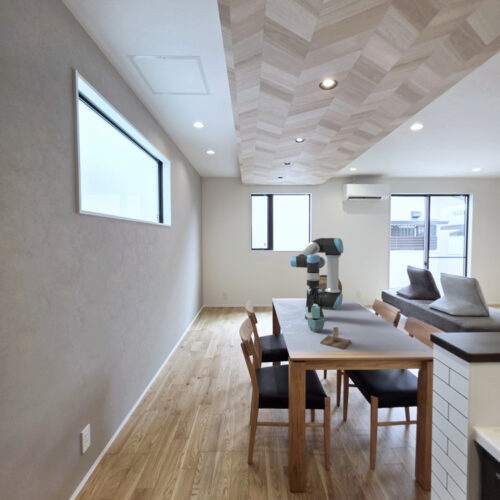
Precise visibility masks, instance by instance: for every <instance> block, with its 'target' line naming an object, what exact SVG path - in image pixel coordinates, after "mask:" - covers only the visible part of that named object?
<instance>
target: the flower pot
mask: <svg viewBox="0 0 500 500" xmlns="http://www.w3.org/2000/svg"><path fill="white" fill-rule="evenodd" d="M306 320H307V325H308V328H309V330H310V331H312V332H314V333H320V332H321V331H323V329H324V327H325V321H326V320H325V318H324V319H323V318H321V317H319V318H308V317H307V319H306Z"/></svg>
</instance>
